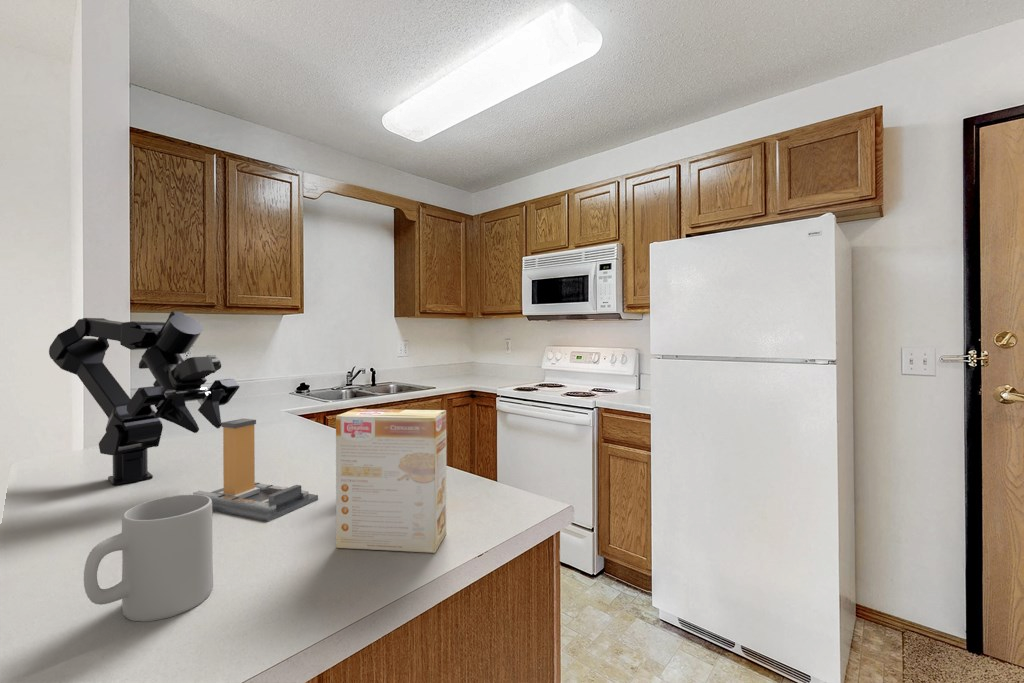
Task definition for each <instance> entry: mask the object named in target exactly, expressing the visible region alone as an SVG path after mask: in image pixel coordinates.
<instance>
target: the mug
mask: <svg viewBox="0 0 1024 683" xmlns="http://www.w3.org/2000/svg"><path fill="white" fill-rule="evenodd" d="M121 520H122V521H121V533H118V534H115V535H113V536H110V537H108V538H106V539H104V540H102V541H100V542H99V543H97V544H96V545H95V546H94V547H93V548H92V549H91V551H89V554H88V556H87V558H86V560H85V564H84V570H83V586H84V587H83V588H84V592H85V594H86V597H87V599H89V600H90V602H91V603H93V604H95V605H107V604H111V603H115V602H116V601H117V602H118V601H120V600H121V604H122V605H121V608H122V614H123V616H124V617H125V618H126V619H127V620H130V621H134V622H153V621H159V620H164V619H167V618H171V617H174V616H177V615H180V614H183V613H186V612H188V611H189V610H191V609H194V608H196V607H197V606H199V605H200V604H202V603H203V602H204V601H205V600H207V599H208V597H209V596H210V595H211V594H212V591H213V588H214V567H213V565H214V562H213V561H214V560H213V554H214V552H213V548H214V547H213V545H214V544H213V510H212V500H211V498H209V497H207V496H204V495H193V494H177V495H173V496H172V495H171V496H165V497H159V498H156V499H152V500H148V501H146V502H143V503H139V504H137V505H135V506H133V507H130V508H129V509H127V510H126V511H125V512H124V513H123V515H122V518H121ZM118 551H119V552H121V551H122V553H121V555H122V557H121V558H122V563H121V566H122V567H121V581H120V582H118V583H117V584H115V585H113V586H111V587H109V588H101V587H100V585H99V582H98V581H99V580H98V571H99V566H100V564H101V562H102V560H103V559H104V558H105V556H107V555H109V554H110V553H111V554H112V553H113V552H118Z"/></svg>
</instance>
